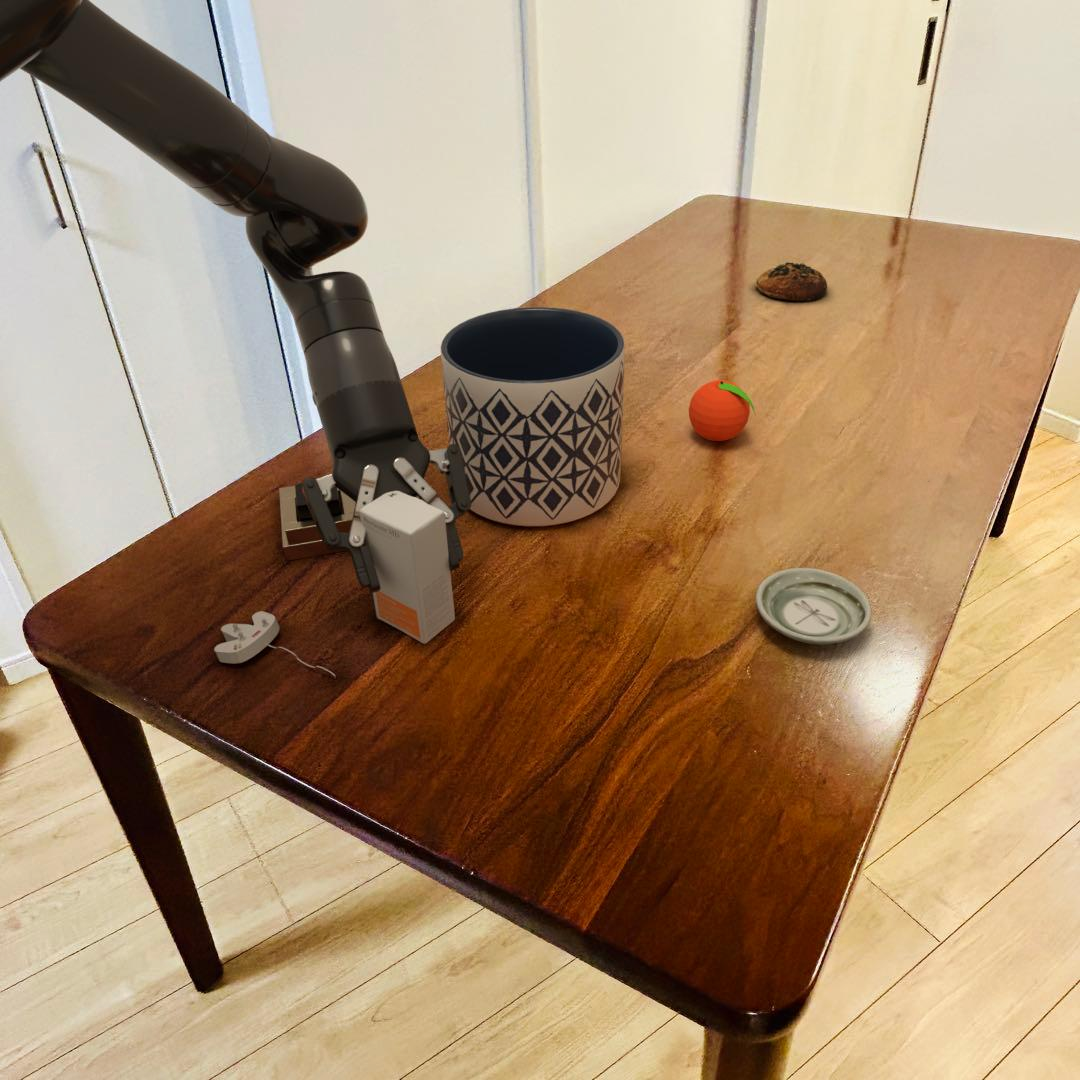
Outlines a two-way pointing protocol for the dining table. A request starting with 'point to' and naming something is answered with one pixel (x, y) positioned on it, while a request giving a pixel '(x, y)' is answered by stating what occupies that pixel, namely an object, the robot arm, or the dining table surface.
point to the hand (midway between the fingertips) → (415, 579)
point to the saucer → (813, 606)
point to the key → (304, 510)
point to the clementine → (719, 410)
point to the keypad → (308, 526)
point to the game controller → (249, 639)
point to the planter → (536, 412)
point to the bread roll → (792, 282)
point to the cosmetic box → (410, 564)
